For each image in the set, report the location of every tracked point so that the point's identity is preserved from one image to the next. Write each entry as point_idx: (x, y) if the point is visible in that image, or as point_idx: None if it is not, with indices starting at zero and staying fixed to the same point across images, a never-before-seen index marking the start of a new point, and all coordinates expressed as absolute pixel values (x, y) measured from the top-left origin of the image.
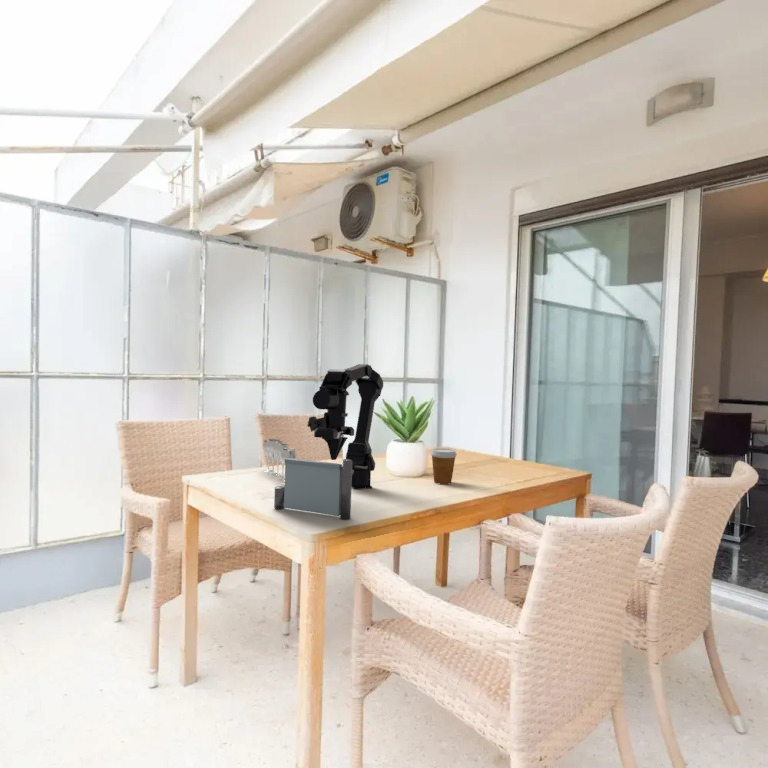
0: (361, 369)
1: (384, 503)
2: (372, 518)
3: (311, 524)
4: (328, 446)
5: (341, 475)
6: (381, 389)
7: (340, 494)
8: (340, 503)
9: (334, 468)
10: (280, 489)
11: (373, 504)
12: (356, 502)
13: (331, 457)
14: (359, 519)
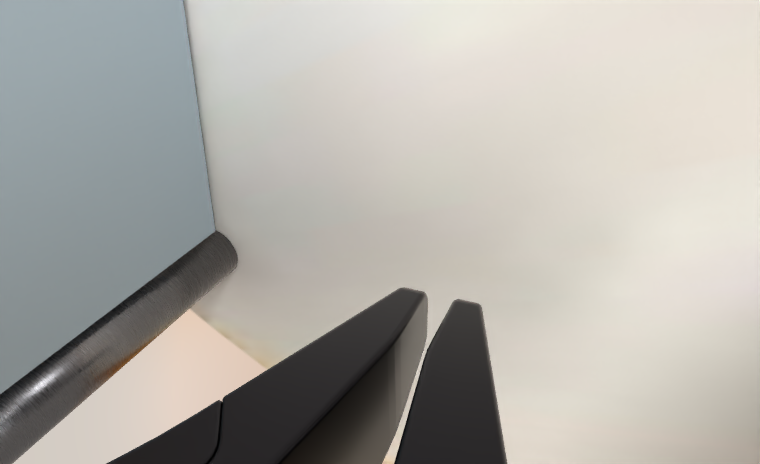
0: None
1: (574, 432)
2: (278, 356)
3: None
4: (135, 453)
5: (18, 377)
6: None
7: (122, 293)
8: (166, 263)
9: None
10: None
11: (526, 375)
12: (544, 278)
13: (376, 314)
14: (238, 308)
